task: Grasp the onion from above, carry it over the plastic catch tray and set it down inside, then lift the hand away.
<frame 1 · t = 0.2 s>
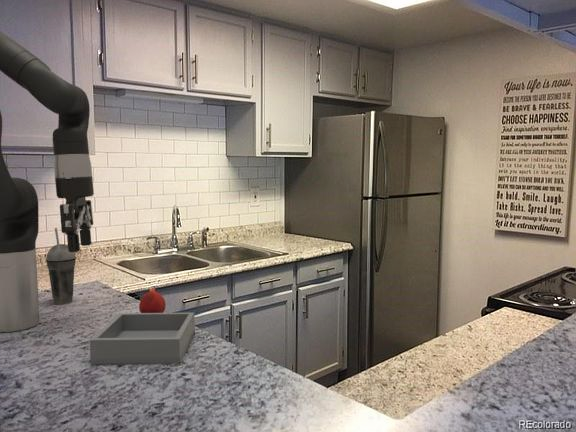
hand: (80, 248, 105), 17 cm above the countertop, tool pointing down, fingers open, 8 cm apart
catch tray: (147, 347, 93), on the countertop
beverage cup: (63, 302, 125), on the countertop
onion: (152, 322, 108), on the countertop
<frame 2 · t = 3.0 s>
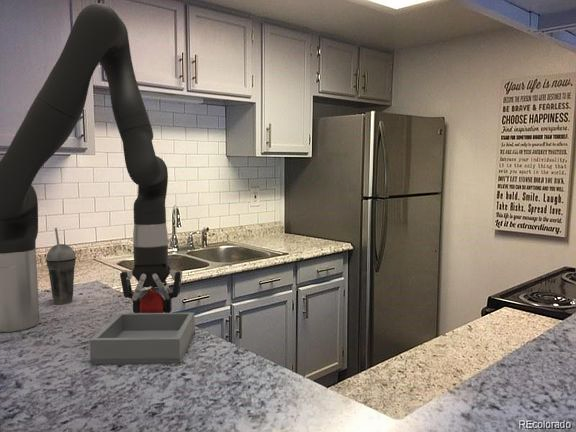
hand: (152, 314, 108), 2 cm above the countertop, tool pointing down, fingers closed on onion, 6 cm apart
onion: (152, 322, 108), on the countertop, touching gripper
everything else where it was.
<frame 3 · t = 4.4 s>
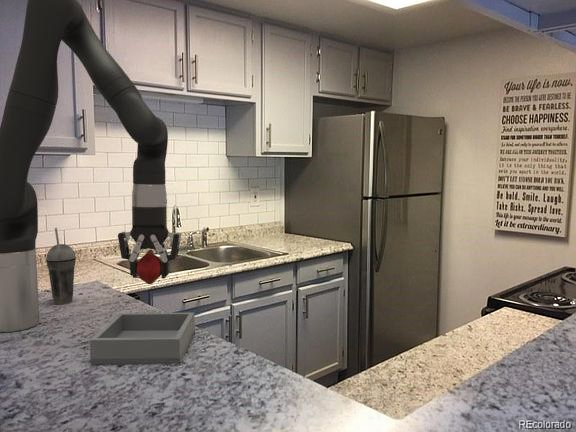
hand: (149, 277, 107), 10 cm above the countertop, tool pointing down, fingers closed on onion, 6 cm apart
onion: (149, 285, 107), point 9 cm above the countertop, touching gripper
everything else where it was.
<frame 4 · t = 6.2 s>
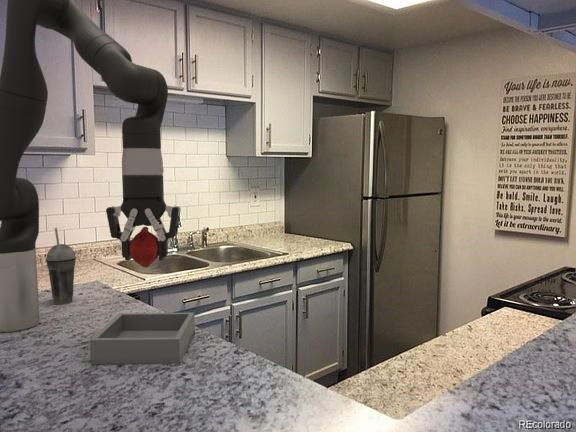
hand: (145, 259, 91), 18 cm above the countertop, tool pointing down, fingers closed on onion, 6 cm apart
onion: (145, 268, 91), point 16 cm above the countertop, touching gripper
everything else where it was.
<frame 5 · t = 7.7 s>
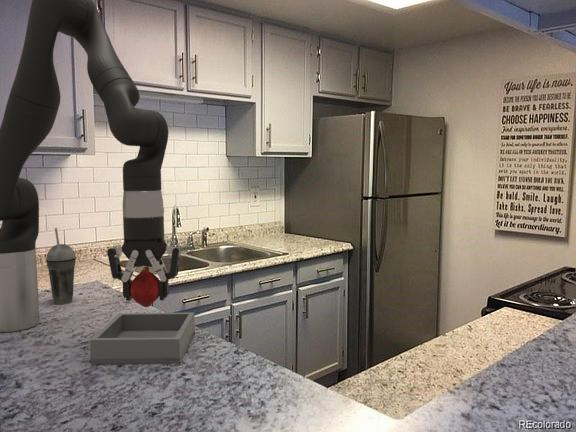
hand: (146, 299, 92), 10 cm above the countertop, tool pointing down, fingers closed on onion, 6 cm apart
onion: (146, 308, 92), point 8 cm above the countertop, touching gripper
everything else where it was.
when the fingers open (4 cm above the countertop, at t = 9.3 s): onion drops 1 cm, resting on catch tray.
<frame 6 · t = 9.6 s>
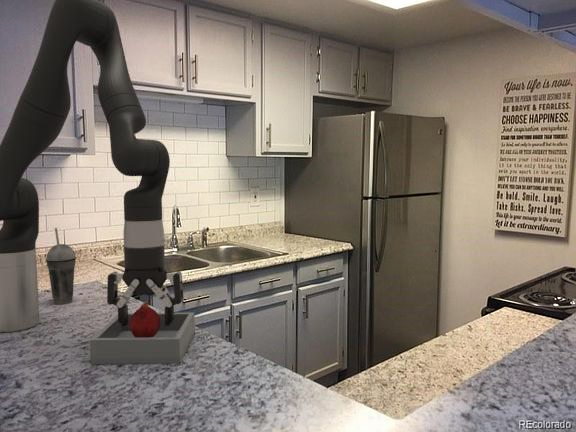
hand: (146, 324, 92), 5 cm above the countertop, tool pointing down, fingers open, 8 cm apart
onion: (145, 343, 93), point 1 cm above the countertop, touching catch tray
everything else where it was.
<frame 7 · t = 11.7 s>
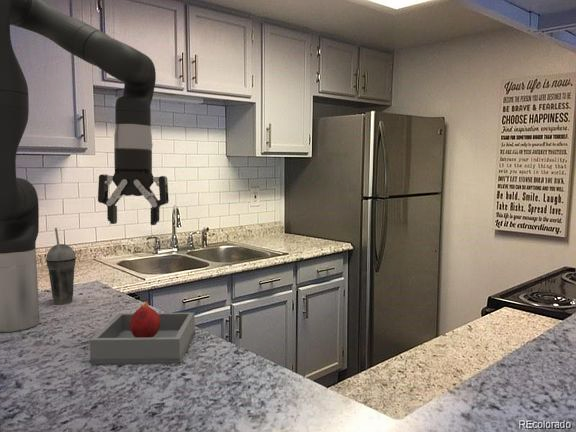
hand: (133, 224, 100), 23 cm above the countertop, tool pointing down, fingers open, 8 cm apart
nothing on the countertop moved.
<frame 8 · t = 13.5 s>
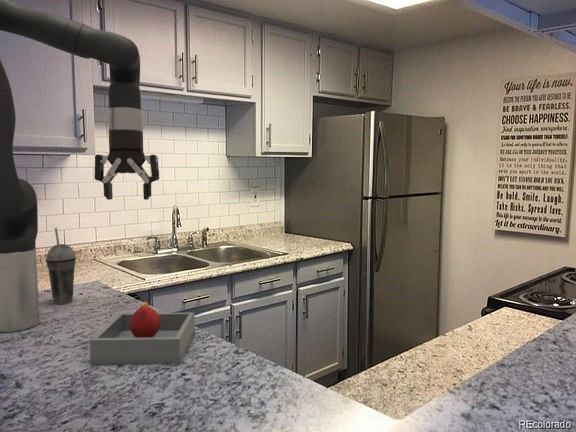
hand: (128, 199, 110), 28 cm above the countertop, tool pointing down, fingers open, 8 cm apart
nothing on the countertop moved.
at the end: onion inside the target area on the catch tray (0.3 cm from its centre), point 0.8 cm above the catch tray's base; onion moved 16.2 cm from its start; the gripper is holding nothing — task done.
